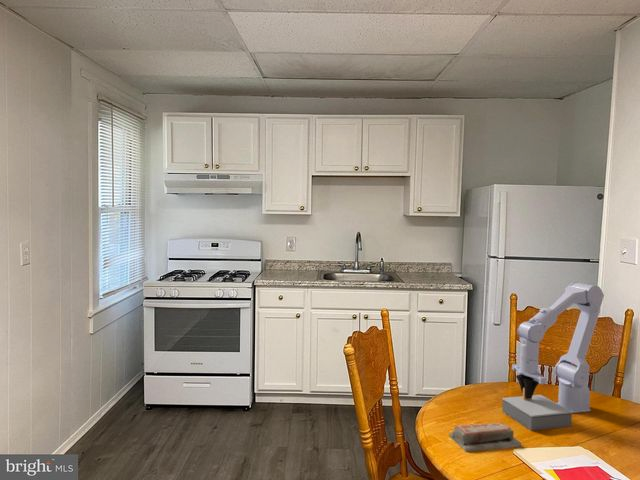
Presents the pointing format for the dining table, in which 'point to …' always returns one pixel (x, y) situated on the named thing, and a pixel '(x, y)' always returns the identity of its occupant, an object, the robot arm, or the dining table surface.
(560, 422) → the carton
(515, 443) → the packaged product
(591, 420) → the dining table surface
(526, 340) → the robot arm
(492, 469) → the dining table surface
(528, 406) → the carton lid
